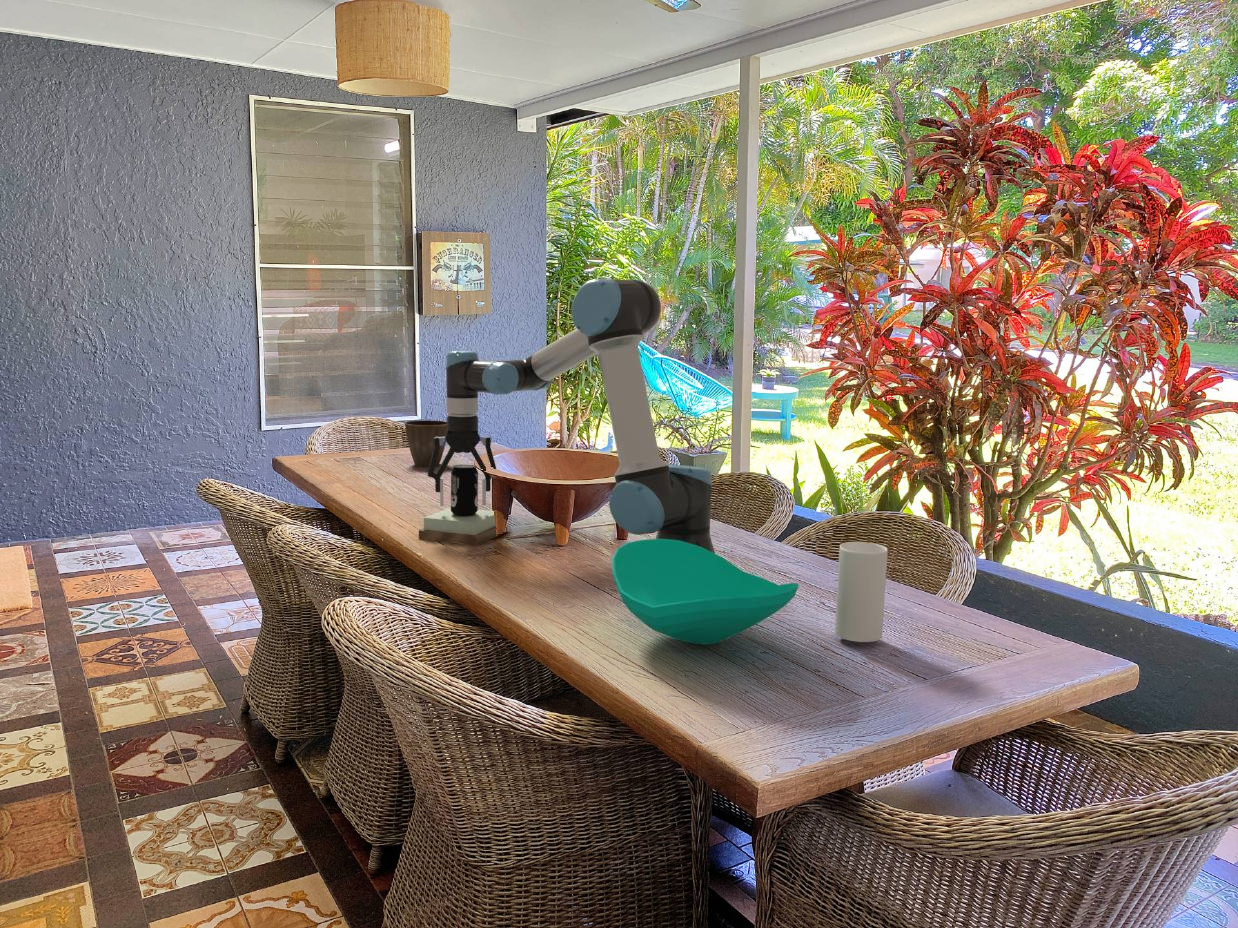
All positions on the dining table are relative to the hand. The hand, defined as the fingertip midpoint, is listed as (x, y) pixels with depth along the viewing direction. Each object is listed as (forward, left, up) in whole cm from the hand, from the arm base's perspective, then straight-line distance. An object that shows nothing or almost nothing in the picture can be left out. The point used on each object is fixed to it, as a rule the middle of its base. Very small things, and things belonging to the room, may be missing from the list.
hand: (463, 504), depth 242 cm
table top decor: (-74, +50, -8) cm, 90 cm away
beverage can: (0, 0, -3) cm, 3 cm away
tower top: (0, 0, -6) cm, 6 cm away
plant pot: (+59, -83, -8) cm, 102 cm away
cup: (-100, +38, -8) cm, 107 cm away
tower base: (0, 0, -9) cm, 9 cm away
